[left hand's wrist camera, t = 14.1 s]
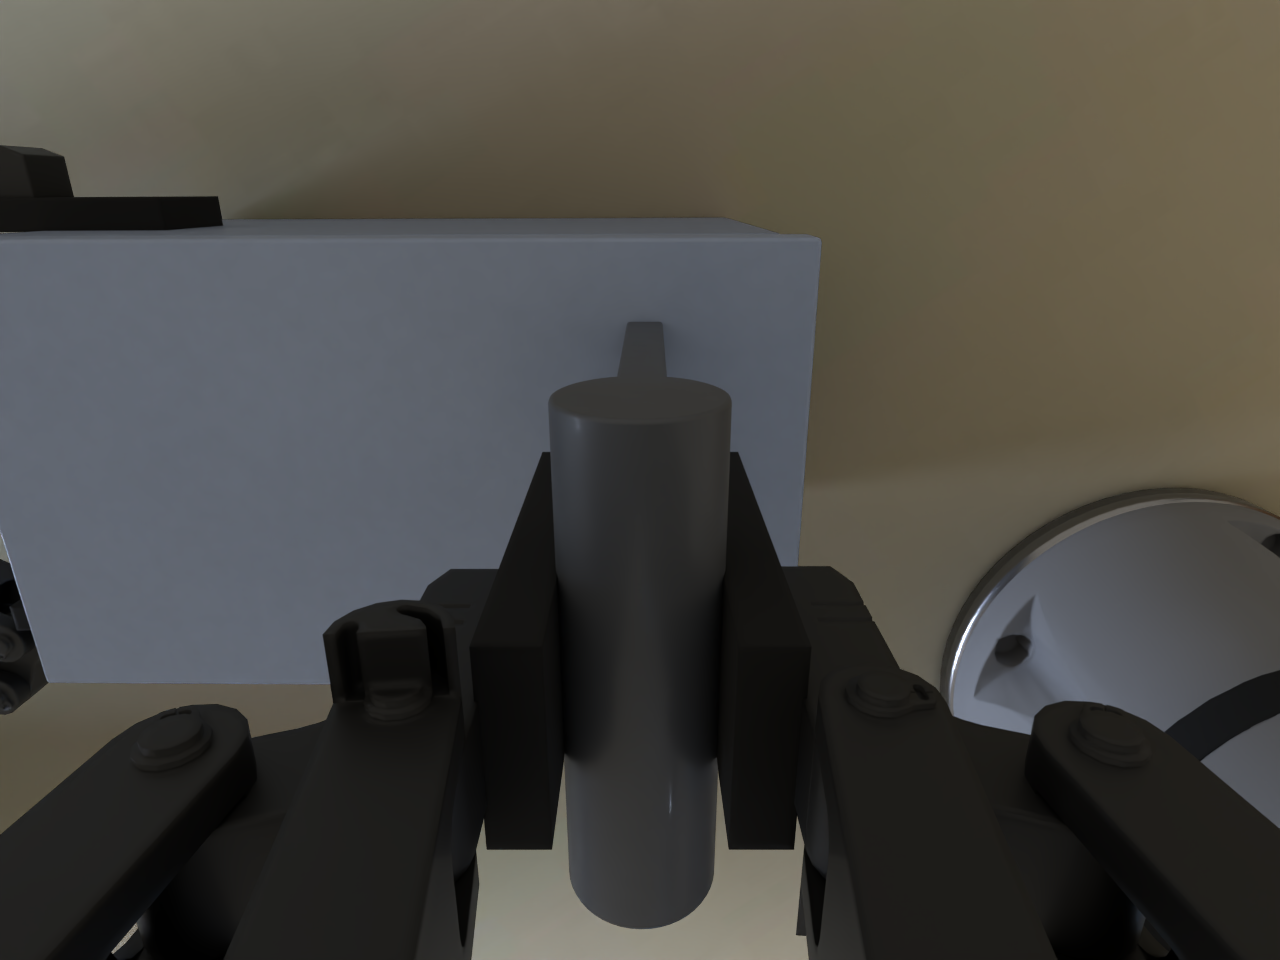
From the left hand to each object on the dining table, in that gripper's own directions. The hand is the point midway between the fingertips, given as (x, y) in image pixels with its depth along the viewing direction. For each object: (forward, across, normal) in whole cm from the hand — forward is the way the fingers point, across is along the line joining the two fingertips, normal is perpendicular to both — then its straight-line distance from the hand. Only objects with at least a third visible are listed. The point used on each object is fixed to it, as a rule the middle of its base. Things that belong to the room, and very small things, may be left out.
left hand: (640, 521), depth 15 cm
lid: (+3, -5, 0) cm, 6 cm away
